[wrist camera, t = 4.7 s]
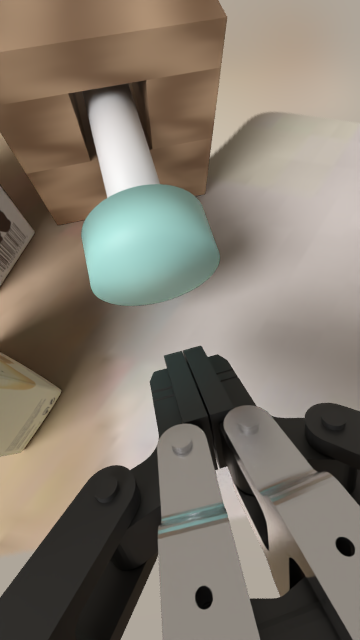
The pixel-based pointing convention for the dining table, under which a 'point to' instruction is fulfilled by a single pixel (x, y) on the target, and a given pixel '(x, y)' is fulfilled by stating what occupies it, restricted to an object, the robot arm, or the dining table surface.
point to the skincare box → (22, 404)
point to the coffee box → (11, 234)
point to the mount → (103, 71)
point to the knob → (140, 215)
